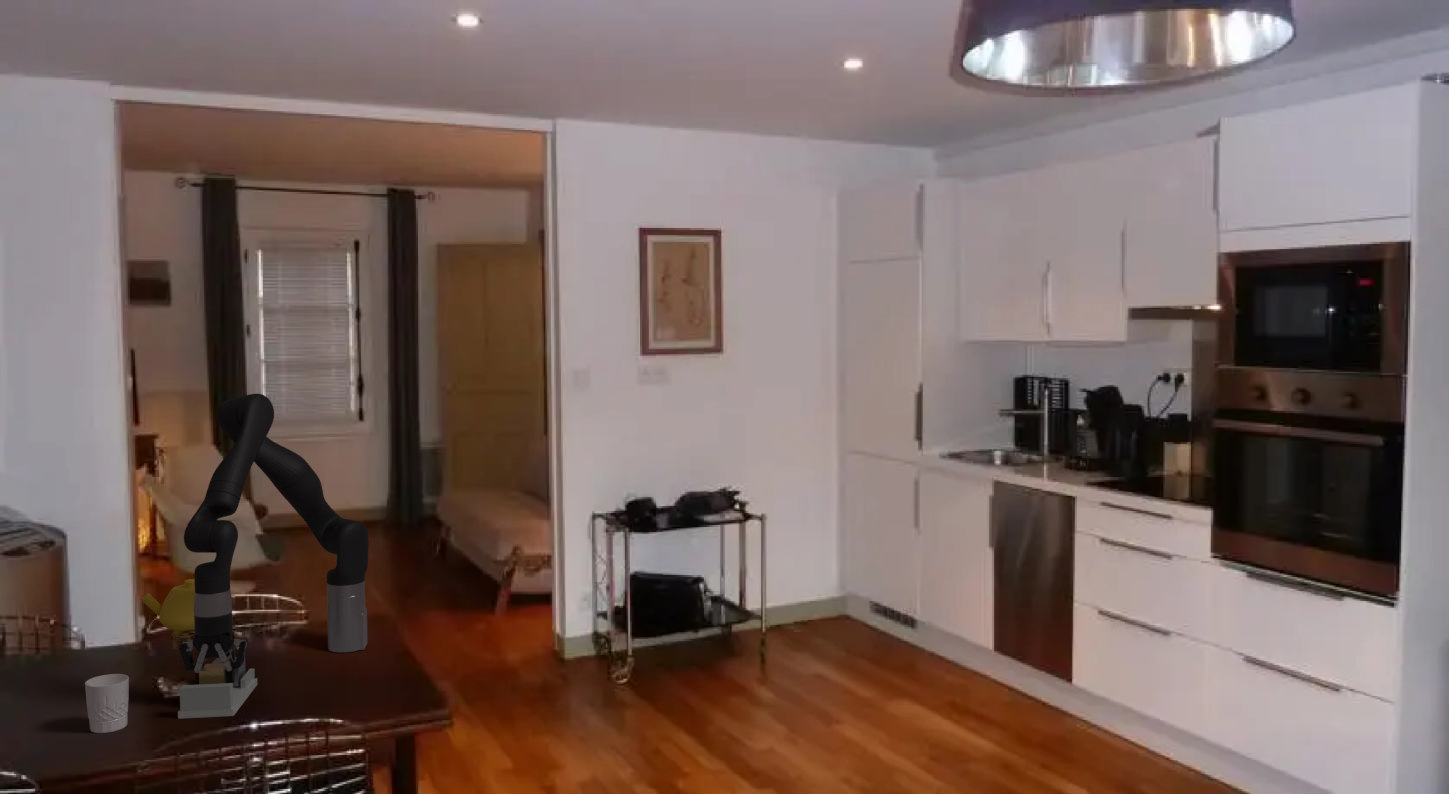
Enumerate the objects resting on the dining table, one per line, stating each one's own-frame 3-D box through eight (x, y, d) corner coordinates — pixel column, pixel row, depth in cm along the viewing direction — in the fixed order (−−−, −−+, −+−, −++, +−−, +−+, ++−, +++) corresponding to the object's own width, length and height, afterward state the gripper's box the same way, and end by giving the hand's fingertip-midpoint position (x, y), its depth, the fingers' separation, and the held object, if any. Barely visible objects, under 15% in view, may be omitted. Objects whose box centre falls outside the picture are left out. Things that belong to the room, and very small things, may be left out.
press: (207, 685, 252) (207, 657, 251) (258, 683, 254) (257, 655, 253) (178, 718, 231) (177, 688, 231) (233, 716, 233) (232, 686, 232)
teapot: (136, 642, 284) (135, 590, 283) (146, 626, 299) (144, 576, 298) (221, 635, 291) (220, 584, 290) (226, 619, 305) (224, 571, 304)
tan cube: (230, 685, 242) (230, 663, 242) (224, 693, 237) (223, 670, 237) (206, 686, 241) (206, 664, 241) (199, 694, 236) (198, 671, 236)
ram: (218, 678, 251) (216, 631, 250) (245, 677, 252) (244, 630, 251) (210, 687, 245) (208, 639, 244) (238, 686, 246) (237, 638, 245)
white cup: (120, 717, 232) (119, 671, 231) (137, 726, 227) (135, 679, 226) (80, 728, 225) (78, 680, 225) (96, 737, 220) (94, 689, 220)
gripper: (252, 605, 243) (254, 680, 244) (183, 607, 240) (185, 683, 242) (243, 614, 235) (245, 691, 237) (172, 617, 233) (174, 695, 234)
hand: (215, 687), depth 239 cm, fingers closed on tan cube, 5 cm apart
